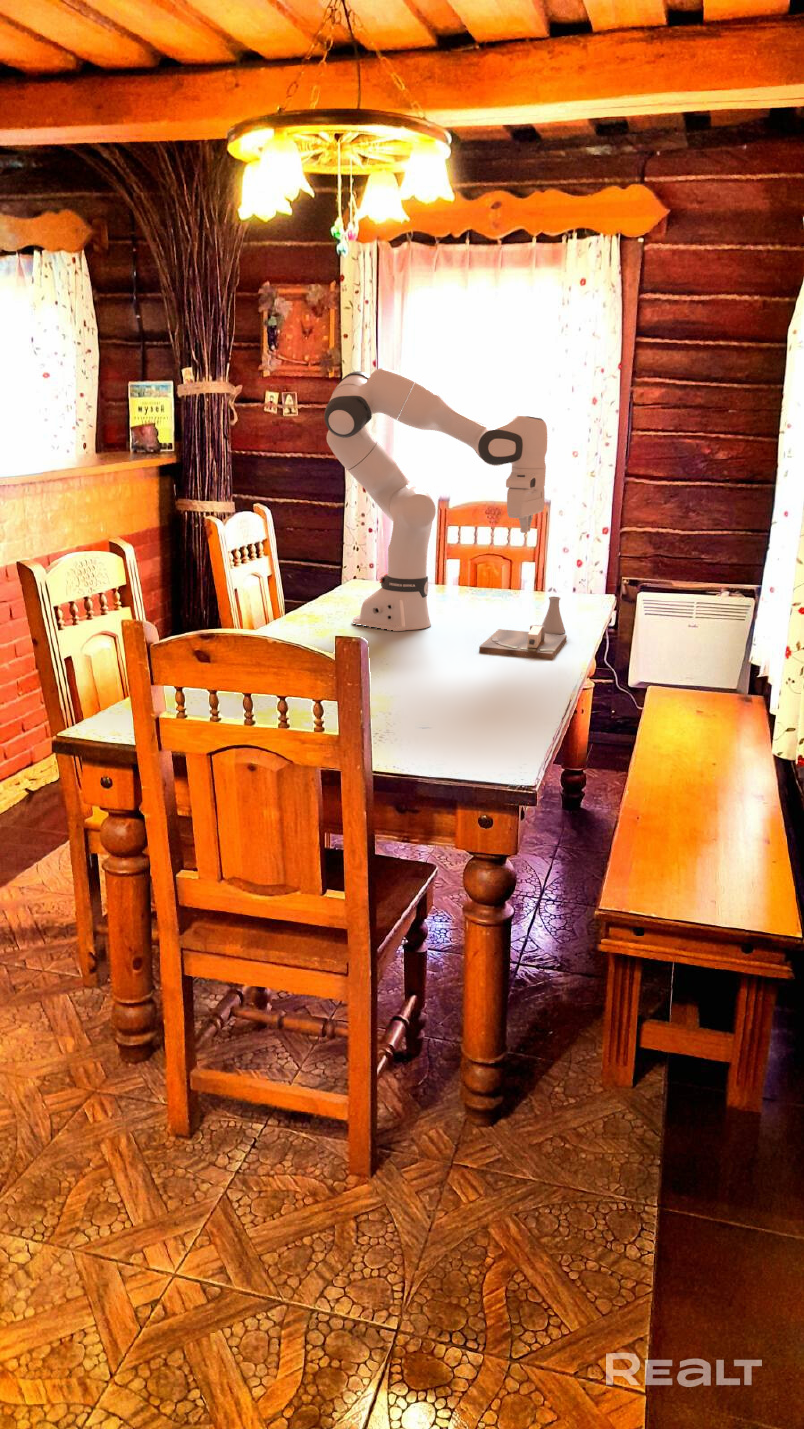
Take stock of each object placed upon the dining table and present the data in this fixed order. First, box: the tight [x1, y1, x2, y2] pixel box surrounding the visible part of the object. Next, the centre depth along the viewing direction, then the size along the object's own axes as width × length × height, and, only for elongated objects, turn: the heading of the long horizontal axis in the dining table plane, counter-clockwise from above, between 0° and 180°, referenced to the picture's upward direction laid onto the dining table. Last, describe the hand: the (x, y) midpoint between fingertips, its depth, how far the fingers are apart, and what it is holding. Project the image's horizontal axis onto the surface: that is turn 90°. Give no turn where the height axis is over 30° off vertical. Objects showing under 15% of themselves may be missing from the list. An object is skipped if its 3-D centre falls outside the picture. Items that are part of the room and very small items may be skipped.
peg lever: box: [527, 624, 545, 648], centre depth 272 cm, size 14×4×4 cm, turn 166°
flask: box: [541, 595, 566, 635], centre depth 292 cm, size 7×7×10 cm
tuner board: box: [478, 628, 568, 660], centre depth 277 cm, size 19×22×2 cm
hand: (525, 532), depth 276 cm, fingers closed
